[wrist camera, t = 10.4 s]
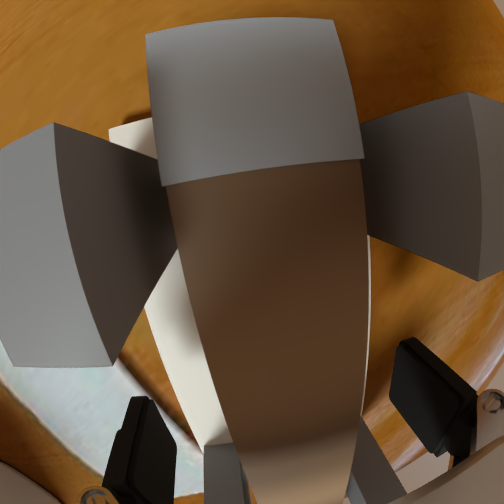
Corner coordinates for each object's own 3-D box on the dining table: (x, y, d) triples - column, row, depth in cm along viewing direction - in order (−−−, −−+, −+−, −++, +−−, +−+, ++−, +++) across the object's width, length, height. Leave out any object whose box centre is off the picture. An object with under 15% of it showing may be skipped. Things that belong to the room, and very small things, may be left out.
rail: (182, 110, 10) (145, 34, 4) (275, 97, 10) (333, 19, 4) (261, 476, 15) (276, 545, 9) (312, 465, 15) (335, 531, 9)
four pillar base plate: (116, 133, 10) (-40, 68, 2) (341, 101, 11) (497, 26, 2) (218, 471, 16) (226, 574, 7) (350, 443, 17) (396, 532, 8)
